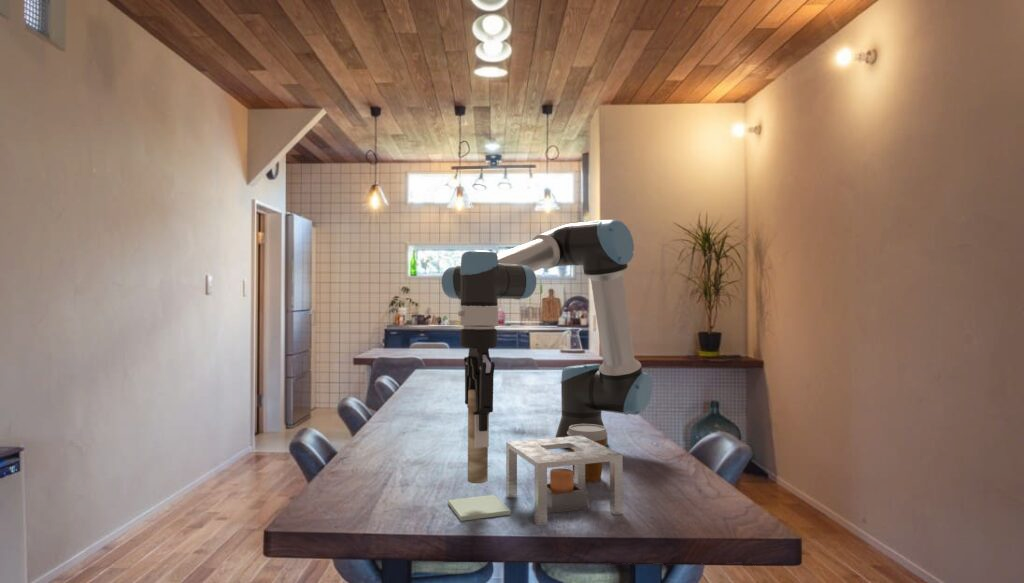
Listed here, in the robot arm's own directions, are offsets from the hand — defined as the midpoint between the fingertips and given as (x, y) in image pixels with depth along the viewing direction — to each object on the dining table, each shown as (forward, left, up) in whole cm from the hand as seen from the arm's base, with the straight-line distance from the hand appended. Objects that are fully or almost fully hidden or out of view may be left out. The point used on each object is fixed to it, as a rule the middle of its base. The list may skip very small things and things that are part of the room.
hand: (478, 444), depth 120 cm
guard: (-17, +3, -13) cm, 22 cm away
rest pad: (0, 0, -13) cm, 13 cm away
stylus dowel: (0, 0, -7) cm, 7 cm away
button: (-17, +3, -12) cm, 21 cm away
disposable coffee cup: (-30, -11, -13) cm, 35 cm away
